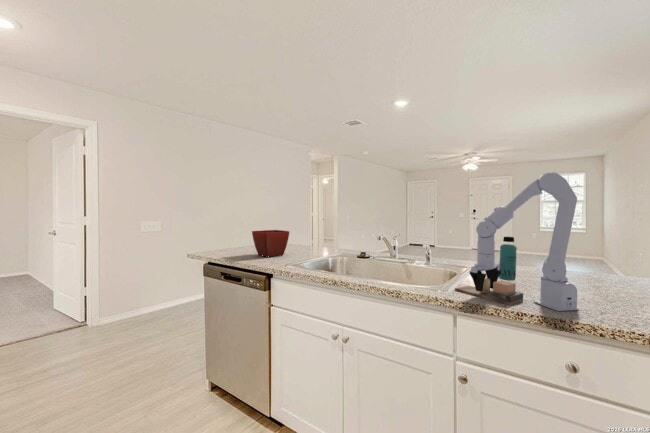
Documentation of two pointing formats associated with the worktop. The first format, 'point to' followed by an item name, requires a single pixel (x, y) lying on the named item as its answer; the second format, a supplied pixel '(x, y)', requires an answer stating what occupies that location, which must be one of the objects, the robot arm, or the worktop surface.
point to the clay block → (499, 287)
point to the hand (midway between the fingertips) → (485, 289)
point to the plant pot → (270, 242)
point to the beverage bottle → (508, 260)
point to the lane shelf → (493, 295)
